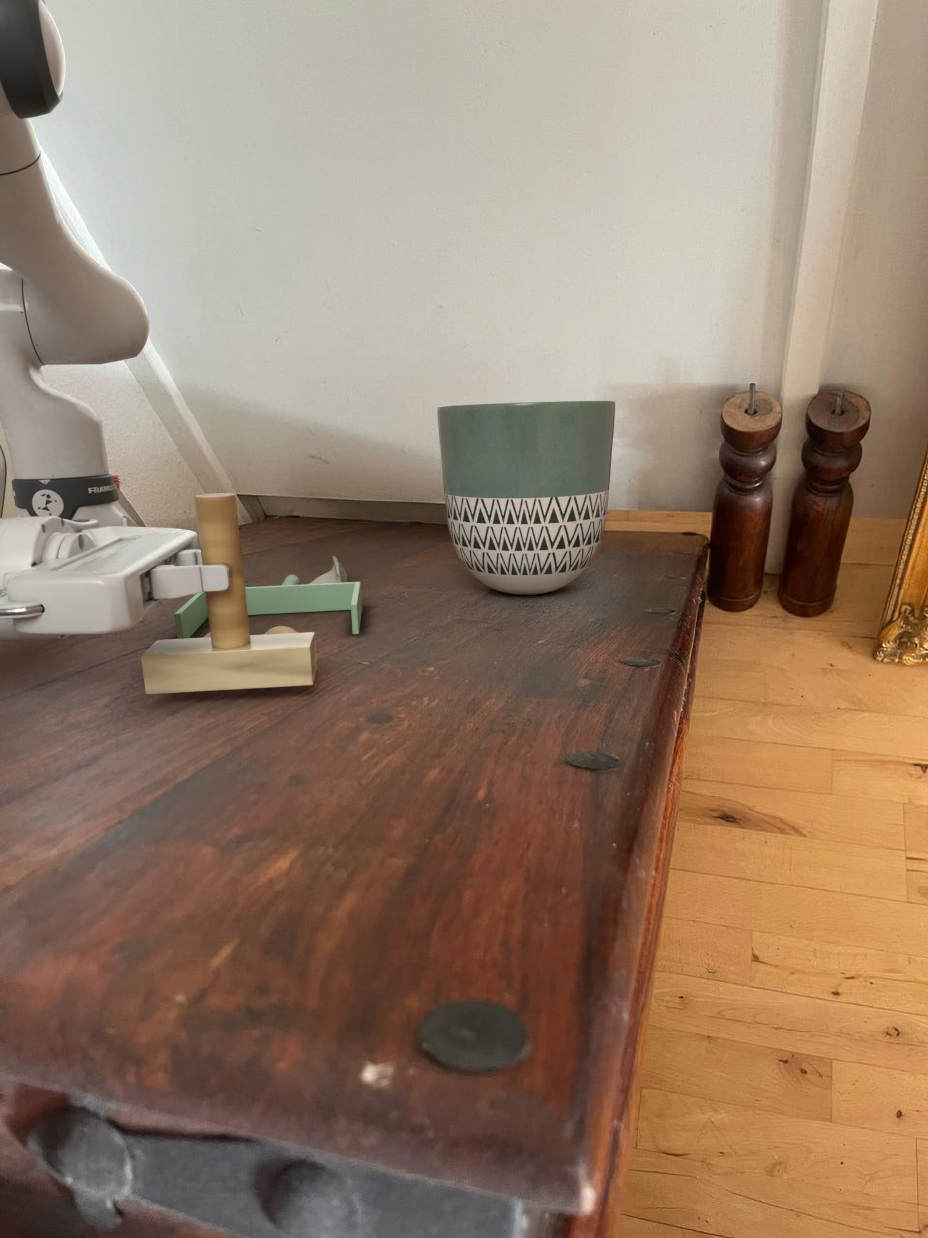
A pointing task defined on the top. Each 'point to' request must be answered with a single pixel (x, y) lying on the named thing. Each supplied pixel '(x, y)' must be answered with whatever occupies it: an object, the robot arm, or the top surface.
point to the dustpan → (280, 602)
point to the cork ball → (280, 630)
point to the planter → (526, 489)
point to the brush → (227, 627)
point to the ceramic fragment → (332, 574)
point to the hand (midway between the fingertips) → (236, 570)
